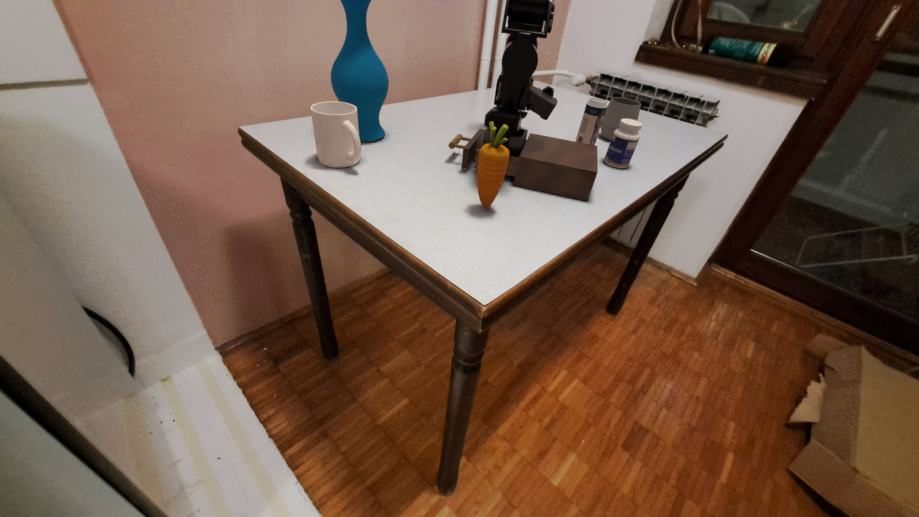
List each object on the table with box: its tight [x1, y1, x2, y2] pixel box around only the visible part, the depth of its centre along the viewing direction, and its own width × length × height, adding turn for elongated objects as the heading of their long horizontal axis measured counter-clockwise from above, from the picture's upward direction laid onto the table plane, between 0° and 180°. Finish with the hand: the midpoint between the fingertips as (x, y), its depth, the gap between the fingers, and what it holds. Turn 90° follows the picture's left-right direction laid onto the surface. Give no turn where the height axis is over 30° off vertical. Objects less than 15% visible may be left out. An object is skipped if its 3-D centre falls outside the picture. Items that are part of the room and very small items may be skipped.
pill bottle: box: [603, 119, 643, 169], centre depth 84 cm, size 6×6×10 cm
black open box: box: [482, 127, 529, 157], centre depth 76 cm, size 8×6×6 cm
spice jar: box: [574, 97, 608, 146], centre depth 89 cm, size 5×5×12 cm
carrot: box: [476, 121, 510, 210], centre depth 59 cm, size 5×5×15 cm
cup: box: [600, 96, 642, 142], centre depth 99 cm, size 10×9×10 cm
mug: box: [310, 100, 362, 169], centre depth 70 cm, size 12×8×10 cm
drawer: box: [448, 128, 527, 178], centre depth 77 cm, size 18×13×4 cm
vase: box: [330, 0, 390, 143], centre depth 77 cm, size 12×13×28 cm
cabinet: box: [513, 132, 599, 202], centre depth 75 cm, size 15×15×6 cm
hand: (503, 151), depth 77 cm, fingers closed on black open box, 6 cm apart
